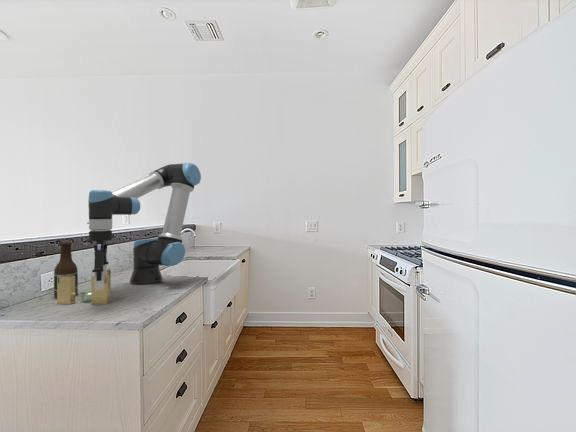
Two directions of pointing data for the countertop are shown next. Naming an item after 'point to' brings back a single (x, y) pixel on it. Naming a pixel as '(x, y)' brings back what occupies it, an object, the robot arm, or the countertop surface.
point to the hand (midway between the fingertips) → (101, 285)
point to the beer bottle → (65, 266)
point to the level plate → (86, 296)
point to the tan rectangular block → (65, 289)
